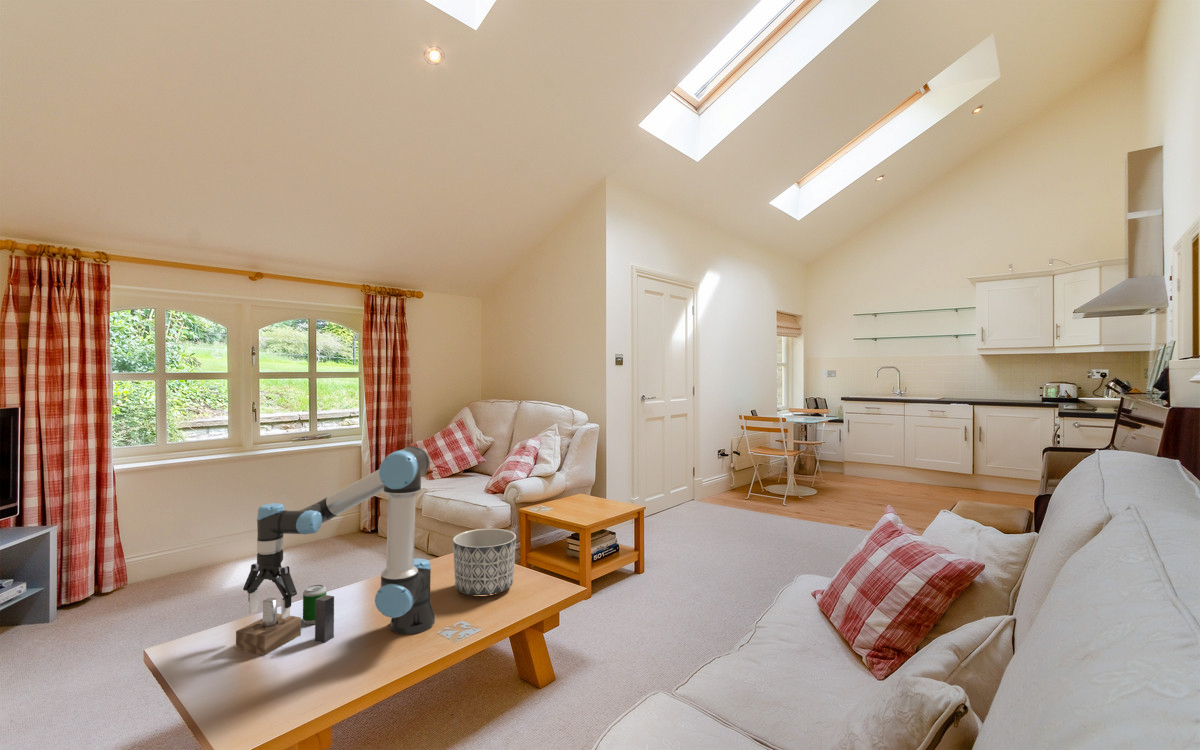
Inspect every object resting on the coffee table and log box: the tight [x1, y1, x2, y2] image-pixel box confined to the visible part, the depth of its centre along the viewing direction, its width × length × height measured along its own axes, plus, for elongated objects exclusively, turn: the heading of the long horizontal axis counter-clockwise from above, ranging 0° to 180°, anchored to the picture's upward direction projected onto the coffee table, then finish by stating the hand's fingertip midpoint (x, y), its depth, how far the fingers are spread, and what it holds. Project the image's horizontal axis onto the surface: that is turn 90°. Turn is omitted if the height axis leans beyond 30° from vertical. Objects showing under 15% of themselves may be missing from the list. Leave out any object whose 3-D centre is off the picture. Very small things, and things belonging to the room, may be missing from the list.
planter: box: [452, 528, 517, 596], centre depth 223 cm, size 26×26×22 cm
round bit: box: [262, 597, 278, 628], centre depth 177 cm, size 4×4×14 cm
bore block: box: [235, 613, 302, 656], centre depth 177 cm, size 12×14×6 cm
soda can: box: [302, 584, 327, 625], centre depth 193 cm, size 8×8×12 cm
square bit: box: [314, 594, 335, 644], centre depth 180 cm, size 4×4×14 cm
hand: (269, 614), depth 177 cm, fingers open, 13 cm apart
